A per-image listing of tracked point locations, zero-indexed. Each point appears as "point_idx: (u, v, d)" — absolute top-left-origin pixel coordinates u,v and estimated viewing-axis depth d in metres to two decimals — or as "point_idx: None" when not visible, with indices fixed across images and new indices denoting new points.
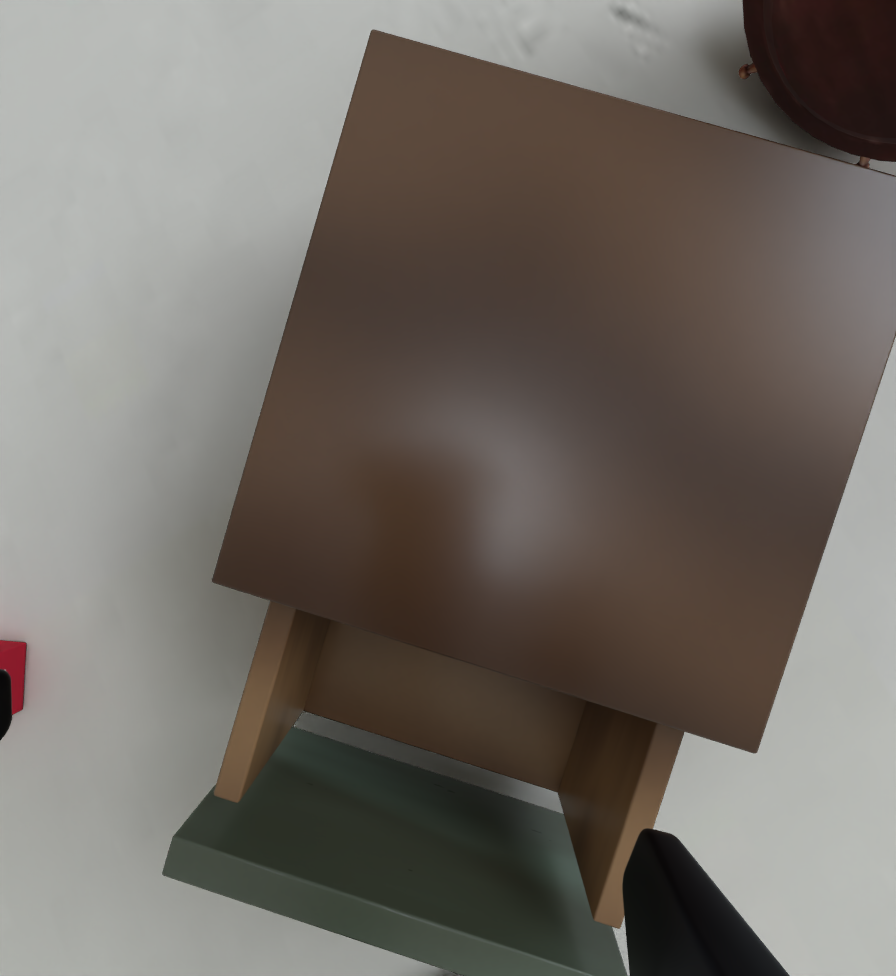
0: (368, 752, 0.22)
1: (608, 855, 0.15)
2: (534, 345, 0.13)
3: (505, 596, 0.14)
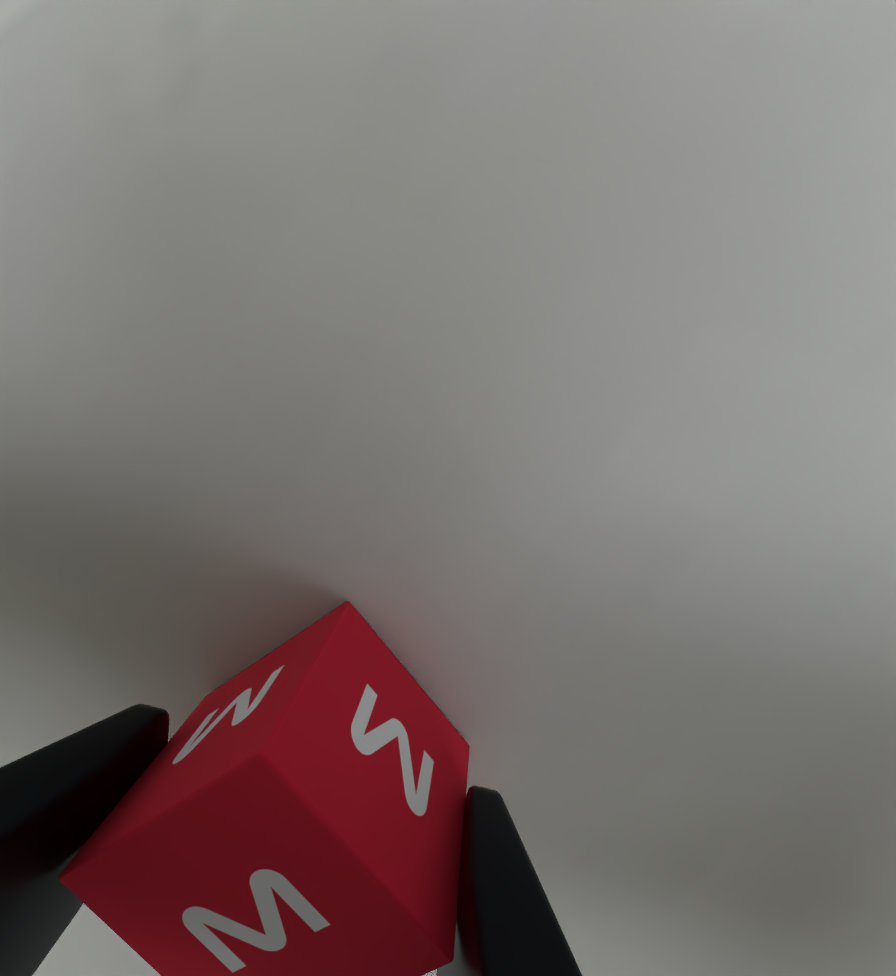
0: None
1: None
2: None
3: None
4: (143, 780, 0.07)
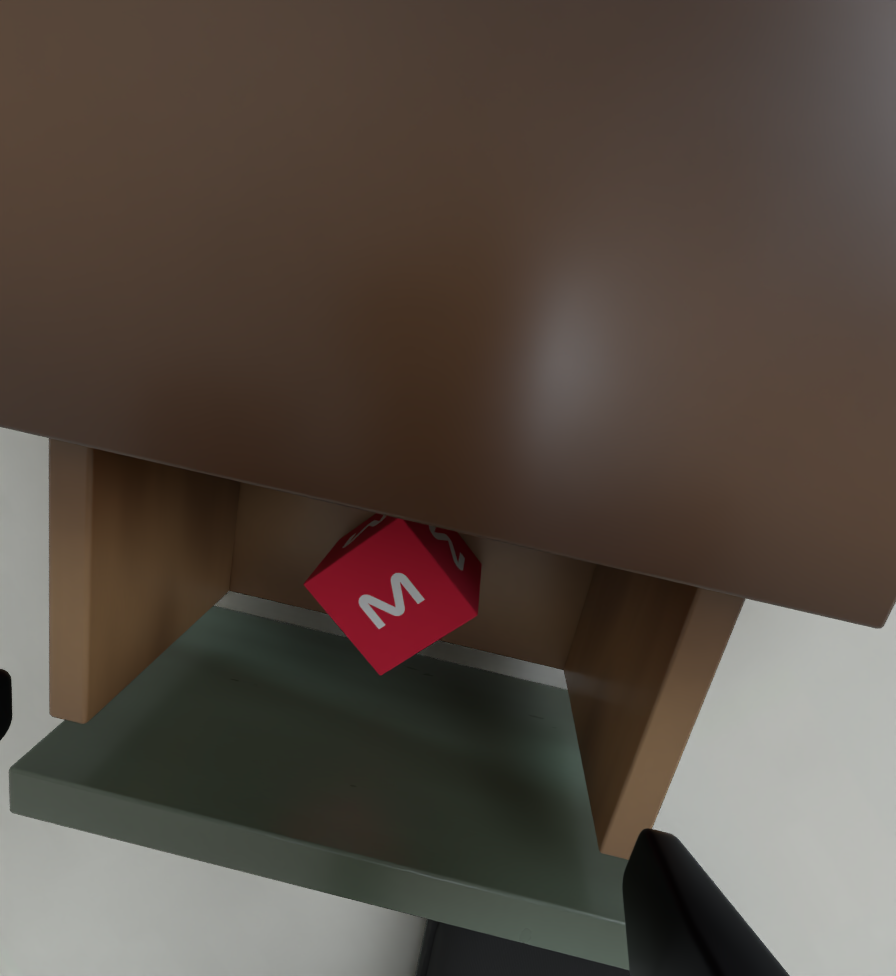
0: (325, 634, 0.18)
1: (621, 770, 0.10)
2: None
3: (410, 382, 0.07)
4: (326, 559, 0.14)
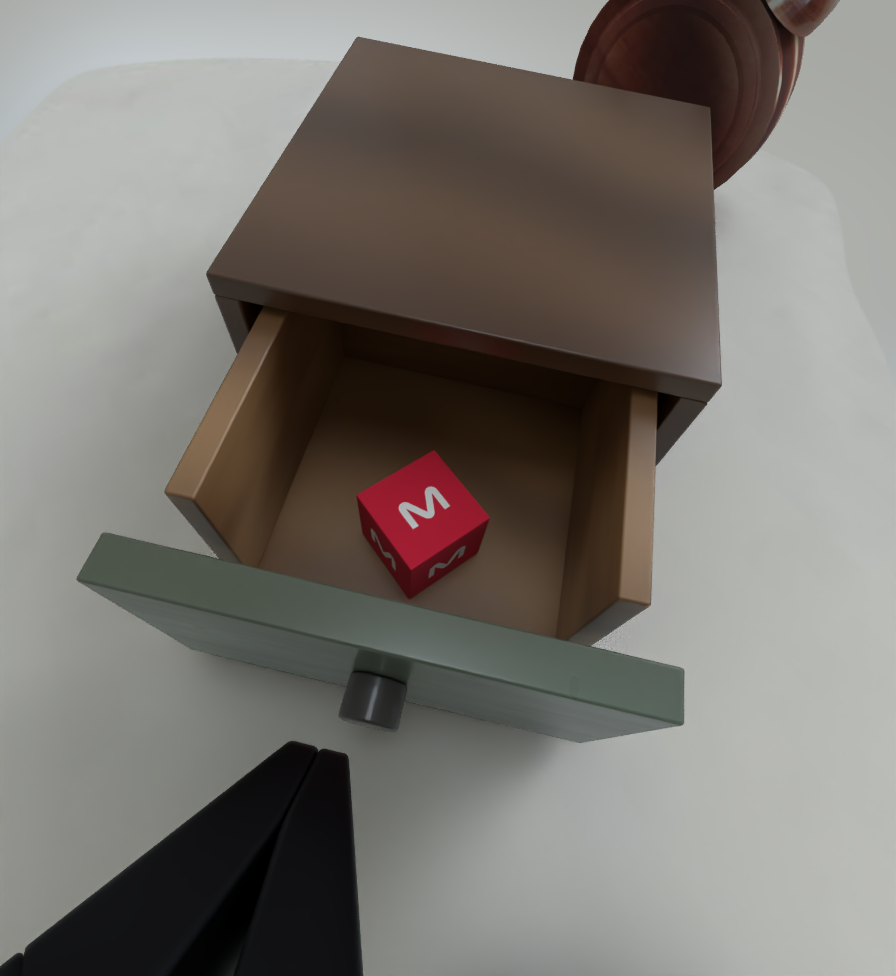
0: None
1: (618, 538, 0.14)
2: (477, 153, 0.19)
3: (476, 281, 0.16)
4: None
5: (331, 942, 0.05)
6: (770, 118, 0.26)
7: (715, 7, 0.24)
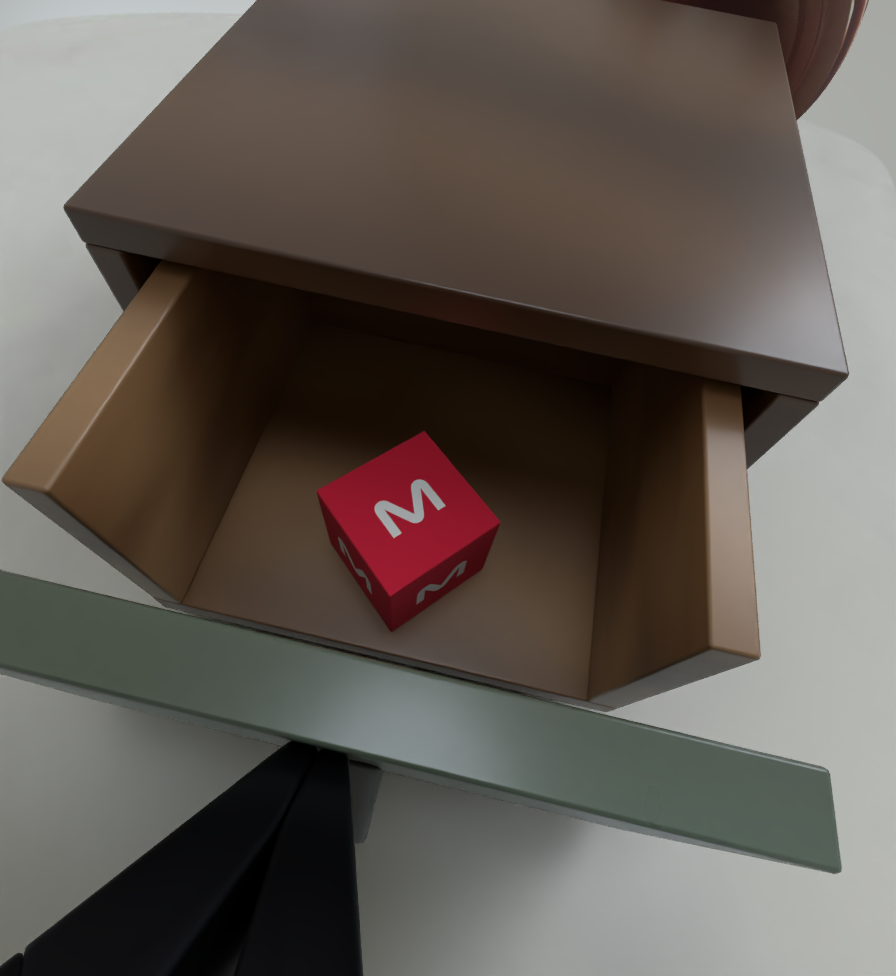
0: None
1: (697, 552, 0.09)
2: (473, 64, 0.14)
3: (471, 223, 0.11)
4: None
5: (331, 942, 0.05)
6: (836, 56, 0.21)
7: None
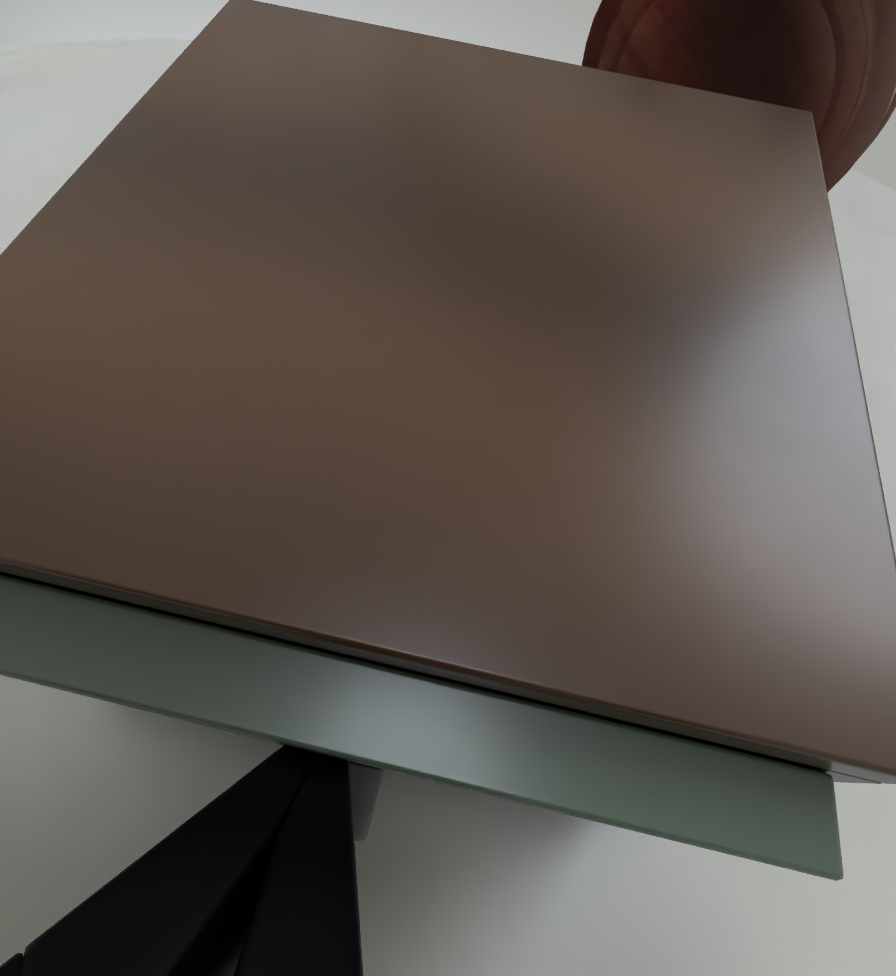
0: None
1: None
2: (413, 203, 0.10)
3: (384, 501, 0.07)
4: None
5: (331, 943, 0.05)
6: (879, 124, 0.17)
7: None
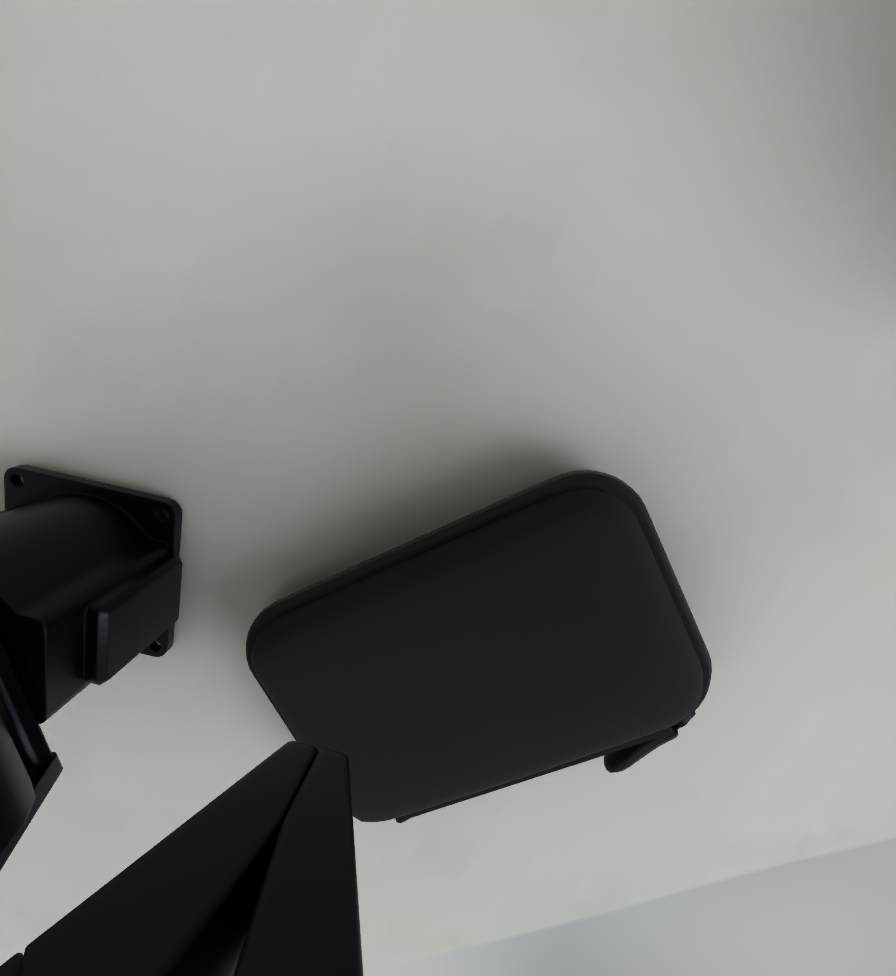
0: None
1: None
2: None
3: None
4: None
5: (331, 942, 0.05)
6: None
7: None
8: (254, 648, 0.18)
